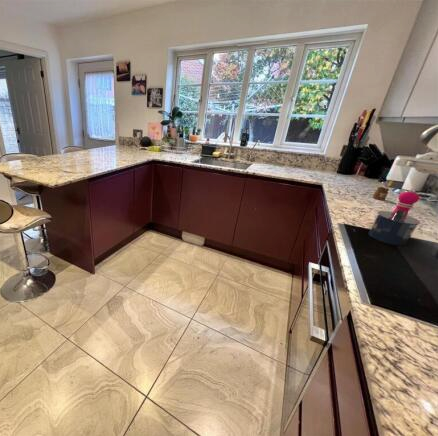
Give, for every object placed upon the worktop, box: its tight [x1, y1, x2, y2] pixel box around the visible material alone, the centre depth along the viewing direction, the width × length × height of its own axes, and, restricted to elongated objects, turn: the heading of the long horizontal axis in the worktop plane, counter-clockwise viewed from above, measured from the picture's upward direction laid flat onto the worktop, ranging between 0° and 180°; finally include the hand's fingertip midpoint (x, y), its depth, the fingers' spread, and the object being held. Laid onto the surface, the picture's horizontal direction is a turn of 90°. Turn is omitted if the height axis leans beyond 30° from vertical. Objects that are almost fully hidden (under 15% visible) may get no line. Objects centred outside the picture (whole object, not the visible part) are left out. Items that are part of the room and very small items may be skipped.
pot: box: [368, 214, 418, 247], centre depth 96 cm, size 12×12×10 cm
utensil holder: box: [372, 180, 394, 201], centre depth 145 cm, size 6×6×12 cm
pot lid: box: [376, 209, 421, 226], centre depth 93 cm, size 13×13×4 cm
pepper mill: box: [392, 187, 420, 216], centre depth 101 cm, size 7×7×20 cm
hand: (426, 166), depth 100 cm, fingers open, 8 cm apart
